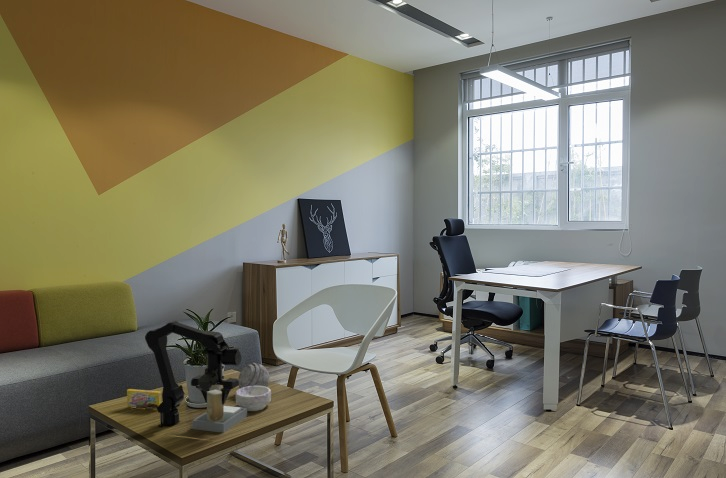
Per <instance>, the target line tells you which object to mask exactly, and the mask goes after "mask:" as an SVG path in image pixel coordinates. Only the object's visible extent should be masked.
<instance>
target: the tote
mask: <svg viewBox="0 0 726 478" xmlns="http://www.w3.org/2000/svg"><path fill="white" fill-rule="evenodd" d="M247 417H248V411H247V408H241V411H240V412H239V413H237V414H236V415H234V416H233V417H231V418H230V419H228V420H227V421H224V422H223V423H219V422H210V421H207V411H206V412H204V413H202V414H201V415H199V416H197V417H195V418H193V420H192V421H191V423H192V426H191V427H192V430H197V431H206V432H214V433H225V432H227V431H228V430H229V429H231V428H233V427H234V426H236V425H237V424H238V423H240V422H241V421H242V420H244V419H246V418H247Z"/></svg>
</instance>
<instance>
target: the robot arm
mask: <svg viewBox="0 0 726 478" xmlns="http://www.w3.org/2000/svg"><path fill="white" fill-rule="evenodd" d="M171 334H175V335H177V336H180V337H185V338H187V339H190V340H192V341H196V342H198V343H199V344H200V345H201V346H202V347H204V350H203V351H201V354H202V355H206V368H205V369H204V372H203V373H204V374H202V375H197V376H194V377H193V378H191V380H190V386H192V387H195V388H196V389H197V390H200V392H201V395H202V396H203V399H204V402H205V403H206V404H207V392H208V391H210V389H211V388H212V386H217V385H218V386H222V388H220V390H219V391H221V392H222V404H223V405H224V406H225V404H226V401H227V398H228V396H229V394H230V392H231V390H233V389H235V388H236V387H239V381H238V378H234V377H229V378H227V379H224V378H225V375H223V370H224V368H225V367H224V366H230V367H231V366H232V367H233V366H234V367H238V366H240V364H241V362H242V354H241V352H240V351H239V349H240V348H239V347H234V348H231V347H230V346H229V345H228V343H227V342H226V340H225V339H224V336H223V334H222V333H221V332H219V331H213V330H202V329H199V328H195V327H193V326H190V325H186V324H183V323H182V322H181V323H180V322H178V321H176V320H173V321H169V322H168V323H166V324H165V325H163V326H160V327H157V328H154V329H151V330H149V331H147V333H146V334H145V336H144V340H145V343H146V344H147V347H148V348H149V349H150V350H151V351H152V352H153V355H154V358H155V362H156V365H157V370H158V373H159V376H160V380H161V383H162V392H161V404H160V405H159V406H158V407H157V410H156V411H157V412H158V413H160V414H159V416H160V417H159V419H160V423H159V424H158V425H157V427H161V428H163V427H170V428H171V427H173V426H176V425H177V424H179V423H180V422H181V420H180V413H179V408H178V407H180V406H181V403H182V402H183V401H184V399H185V395H186V393H185V392H184V388H183V387H184V386H183V384H180V385H179V384H178V383H177V382H176V379H175V375H174V373H173V368H172V365H171V362H170V358H169V355H168V354H169V353H168V351H167V346H168V336H169V335H171ZM228 348H229V349H228Z"/></svg>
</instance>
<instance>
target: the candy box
mask: <svg viewBox="0 0 726 478" xmlns="http://www.w3.org/2000/svg"><path fill="white" fill-rule="evenodd" d="M126 399H127V408H128V407H136V408H145V409H153V410H152V411H158V410H157V407H158V406H159V405H160V404H161V403H162V392H161V390H160V391H158V390H146V389H134V388H128V389H127V390H126ZM145 409H144V410H145Z"/></svg>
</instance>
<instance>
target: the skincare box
mask: <svg viewBox="0 0 726 478" xmlns="http://www.w3.org/2000/svg"><path fill="white" fill-rule="evenodd" d="M224 406H225V404H224V405H223V404H222V392H221V390H218V389H212V390H209V391H208V392H207V403H206V412H207V421H210V422H219V423H223V422H224Z"/></svg>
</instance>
